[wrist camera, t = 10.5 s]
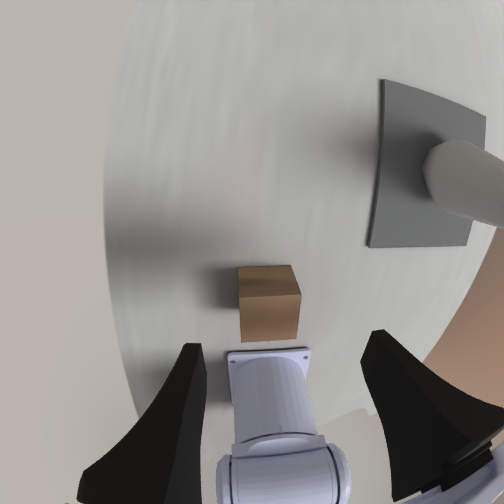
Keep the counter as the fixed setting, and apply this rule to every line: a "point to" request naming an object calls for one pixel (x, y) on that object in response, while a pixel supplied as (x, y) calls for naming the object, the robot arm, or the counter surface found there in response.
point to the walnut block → (268, 303)
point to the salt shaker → (466, 181)
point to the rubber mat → (417, 168)
